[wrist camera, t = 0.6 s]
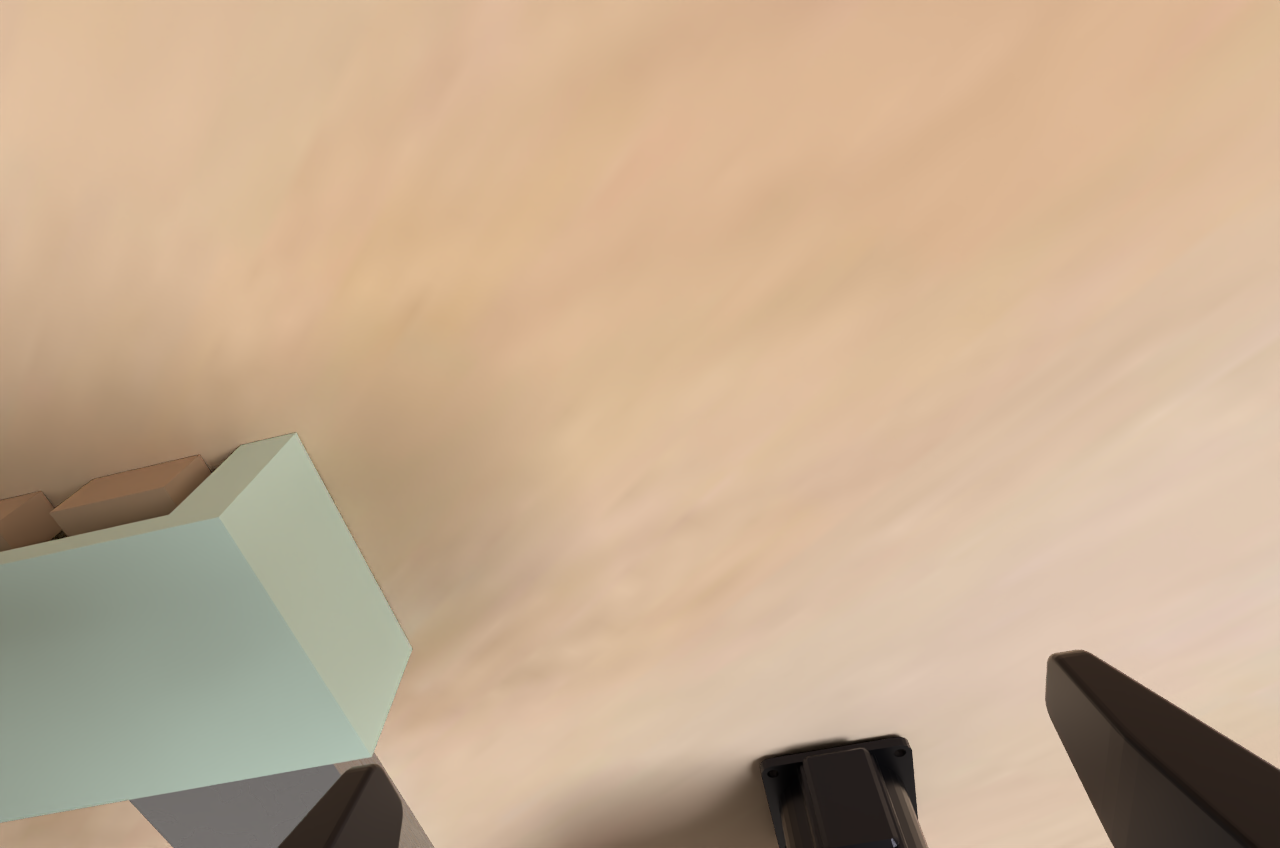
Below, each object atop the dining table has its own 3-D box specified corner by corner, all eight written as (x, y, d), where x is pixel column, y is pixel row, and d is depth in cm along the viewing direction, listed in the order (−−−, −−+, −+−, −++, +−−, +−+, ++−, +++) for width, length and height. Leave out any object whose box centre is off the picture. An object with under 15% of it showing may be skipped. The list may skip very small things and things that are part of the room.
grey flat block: (474, 905, 36) (464, 954, 34) (314, 930, 37) (296, 978, 35) (319, 664, 28) (296, 710, 26) (119, 703, 29) (81, 750, 27)
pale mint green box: (412, 648, 27) (371, 757, 23) (32, 722, 29) (-72, 835, 25) (296, 432, 23) (218, 516, 18) (-147, 534, 24) (-312, 633, 20)
